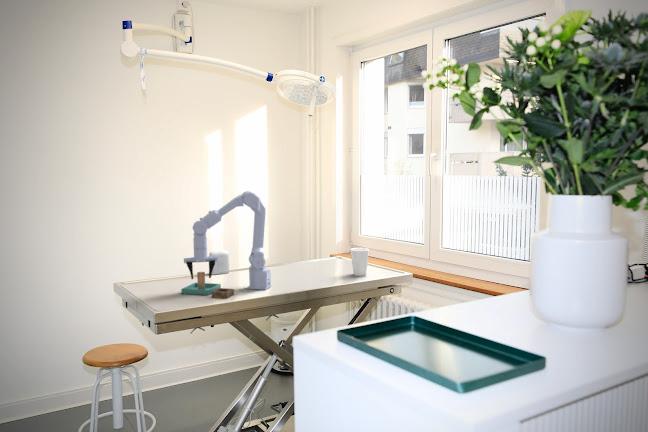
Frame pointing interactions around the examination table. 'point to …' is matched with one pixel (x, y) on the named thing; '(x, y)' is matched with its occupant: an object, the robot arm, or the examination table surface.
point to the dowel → (201, 280)
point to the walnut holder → (222, 293)
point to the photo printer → (220, 261)
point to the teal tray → (195, 291)
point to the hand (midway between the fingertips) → (201, 278)
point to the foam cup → (359, 260)
